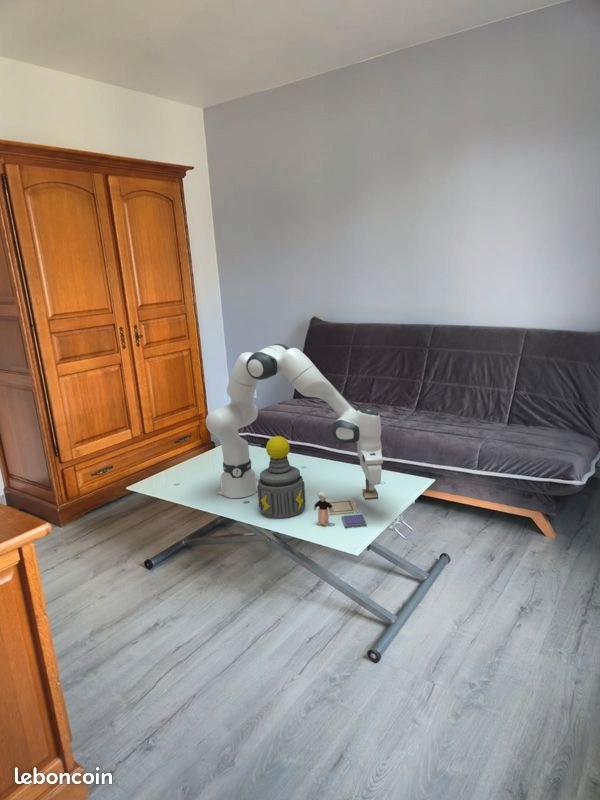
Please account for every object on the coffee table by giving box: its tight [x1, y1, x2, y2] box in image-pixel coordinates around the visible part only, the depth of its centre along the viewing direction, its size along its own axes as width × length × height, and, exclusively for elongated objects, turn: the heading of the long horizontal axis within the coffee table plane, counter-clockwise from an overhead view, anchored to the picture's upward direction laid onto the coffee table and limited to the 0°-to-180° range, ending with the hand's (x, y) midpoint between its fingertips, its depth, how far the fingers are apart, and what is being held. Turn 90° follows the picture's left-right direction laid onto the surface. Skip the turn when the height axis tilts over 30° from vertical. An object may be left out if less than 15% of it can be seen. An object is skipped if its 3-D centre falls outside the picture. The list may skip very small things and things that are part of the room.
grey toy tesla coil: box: [257, 435, 306, 519], centre depth 210 cm, size 19×19×30 cm
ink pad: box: [341, 513, 368, 529], centre depth 197 cm, size 8×8×1 cm
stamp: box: [361, 477, 379, 501], centre depth 202 cm, size 5×5×7 cm
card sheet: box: [327, 498, 359, 516], centre depth 211 cm, size 12×12×1 cm
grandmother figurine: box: [313, 491, 334, 527], centre depth 196 cm, size 8×4×13 cm, turn 81°
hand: (370, 486), depth 202 cm, fingers closed on stamp, 3 cm apart
